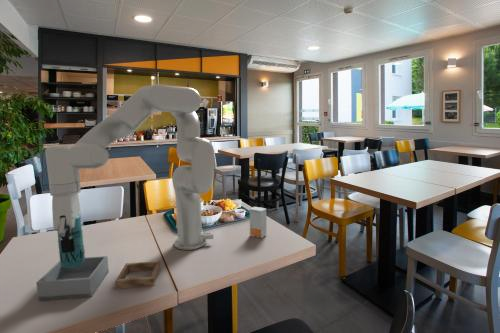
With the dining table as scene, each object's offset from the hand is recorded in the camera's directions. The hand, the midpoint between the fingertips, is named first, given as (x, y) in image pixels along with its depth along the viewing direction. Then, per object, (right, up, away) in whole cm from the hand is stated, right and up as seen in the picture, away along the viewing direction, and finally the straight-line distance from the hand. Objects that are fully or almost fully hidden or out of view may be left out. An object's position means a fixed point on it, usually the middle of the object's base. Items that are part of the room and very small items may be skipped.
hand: (71, 246), depth 89 cm
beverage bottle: (0, -7, +1) cm, 7 cm away
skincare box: (+56, -6, +38) cm, 68 cm away
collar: (+18, -11, +6) cm, 22 cm away
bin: (0, -12, +2) cm, 12 cm away
